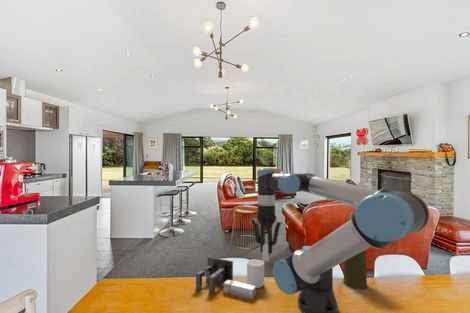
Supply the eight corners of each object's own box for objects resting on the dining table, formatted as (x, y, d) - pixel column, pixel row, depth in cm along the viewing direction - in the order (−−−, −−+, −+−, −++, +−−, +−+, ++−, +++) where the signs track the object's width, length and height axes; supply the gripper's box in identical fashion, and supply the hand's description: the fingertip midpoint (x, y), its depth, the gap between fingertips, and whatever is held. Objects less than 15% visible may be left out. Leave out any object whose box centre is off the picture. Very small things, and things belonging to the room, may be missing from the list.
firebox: (232, 282, 117) (232, 261, 118) (218, 295, 105) (218, 271, 105) (208, 276, 123) (208, 256, 124) (192, 288, 111) (192, 266, 111)
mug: (245, 277, 123) (245, 256, 123) (261, 277, 123) (261, 256, 124) (247, 288, 111) (247, 265, 112) (265, 288, 111) (265, 265, 112)
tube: (255, 295, 105) (255, 285, 105) (252, 299, 101) (252, 290, 102) (227, 288, 111) (227, 279, 112) (223, 292, 108) (223, 283, 108)
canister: (362, 292, 108) (361, 247, 110) (339, 283, 116) (338, 241, 117) (371, 284, 116) (369, 242, 117) (348, 277, 123) (348, 237, 125)
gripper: (284, 204, 104) (284, 260, 102) (254, 202, 110) (254, 255, 108) (280, 206, 97) (280, 266, 96) (248, 204, 103) (247, 260, 102)
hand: (266, 260), depth 102 cm, fingers closed
